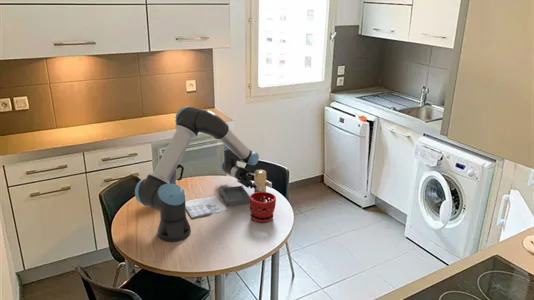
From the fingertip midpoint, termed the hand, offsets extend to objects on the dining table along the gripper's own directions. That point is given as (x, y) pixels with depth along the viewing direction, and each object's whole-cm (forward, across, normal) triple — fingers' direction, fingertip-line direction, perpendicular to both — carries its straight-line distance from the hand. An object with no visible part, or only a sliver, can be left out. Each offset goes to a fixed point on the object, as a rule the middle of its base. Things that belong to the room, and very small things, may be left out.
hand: (266, 187), depth 224 cm
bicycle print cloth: (-17, +28, -11) cm, 34 cm away
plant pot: (+10, +11, -10) cm, 18 cm away
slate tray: (-16, +9, -10) cm, 21 cm away
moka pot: (-40, +35, -10) cm, 54 cm away
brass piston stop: (-5, 0, -9) cm, 10 cm away
